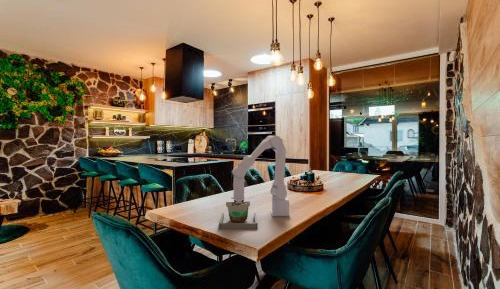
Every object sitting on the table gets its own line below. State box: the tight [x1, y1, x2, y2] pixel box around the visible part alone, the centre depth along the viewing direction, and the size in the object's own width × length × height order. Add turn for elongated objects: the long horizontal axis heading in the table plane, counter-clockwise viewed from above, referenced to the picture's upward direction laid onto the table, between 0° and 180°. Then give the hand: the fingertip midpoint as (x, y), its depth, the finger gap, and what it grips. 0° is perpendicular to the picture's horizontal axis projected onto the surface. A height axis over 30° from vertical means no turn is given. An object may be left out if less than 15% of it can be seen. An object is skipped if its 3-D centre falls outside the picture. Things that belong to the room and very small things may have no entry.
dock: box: [218, 212, 259, 230], centre depth 128 cm, size 18×17×2 cm
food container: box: [225, 200, 251, 223], centre depth 128 cm, size 12×6×10 cm, turn 92°
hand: (238, 214), depth 136 cm, fingers open, 6 cm apart
